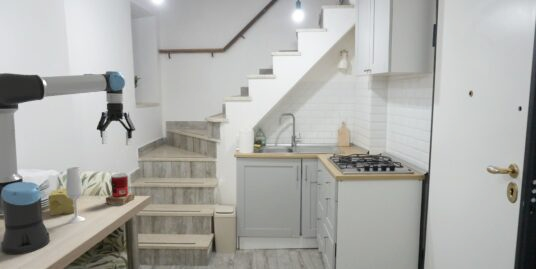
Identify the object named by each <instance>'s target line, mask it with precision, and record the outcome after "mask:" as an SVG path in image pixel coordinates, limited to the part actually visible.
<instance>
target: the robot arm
mask: <svg viewBox="0 0 536 269" xmlns="http://www.w3.org/2000/svg"><path fill="white" fill-rule="evenodd" d="M125 85H126V79H125V77H124V76H123V74H122V72H120V71H116V70H115V71H114V70H113V71H112V70H110V71H109V70H108V71H107V70H106V71H105V73H99V74H97V73H96V74H95V73H84V74H81V75H80V74H79V75H62V76H61V75H59V76H58V75H57V76H40V75H39V74H20V73H7V72H5V73H0V214H1V215H3V220H4V228H5V229H4V234H3V238H2V241H1V243H0V250H1V253H3V254H6V255H20V254H26V253H30V252H34V251H36V250H40V249H41V248H43V247H45V246H47V245H48V244H49V243H50V241H51V238H50V236H51V235H50V233H49V232H48V230H47V228H46V225H45V223H44V220H43V219H44V218H43V206H42V192H41V189H40V186H39V185H38V184H37V183H34V182H31V181H28V182H26V181H23V175H20V174H19V172H18V160H17V159H18V158H17V145H16V144H17V143H16V140H17V139H16V129H15V128H16V127H15V125H16V124H15V113H16V112H17V111H18V110H19V104H23V103H29V102H35V101H42V100H43V99H45V98H49V97H58V96H64V95H65V96H66V95H67V96H68V95H79V94H85V93H86V94H87V93H88V94H89V93H96V92H97V93H98V92H105V93H106V102H107V103H106V111H102V112H101V116H100V119H99V121H98V124H97V126H96V130H97V131H99V133H100V138H101V144H102V145H105V144H107V143H108V142H107V140H108V139H107V137H108V136H107V131H106V130H107V128H108V126H109V125H110V124H111V123H112V122H119V123H120V125H121V126H123V128H124V129H125V130H126V131H125V146H130V145H131V139H132V138H133V134H132V133H133V132H134V131H136V128H135V125H134V123H133V122H132V119H131V117H130V113H129V111H127V112H126V111H125V112H123V111H124V103H123V102H124V97H123V96H124V94H123V93H124V92H123V89H124V87H125Z"/></svg>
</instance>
